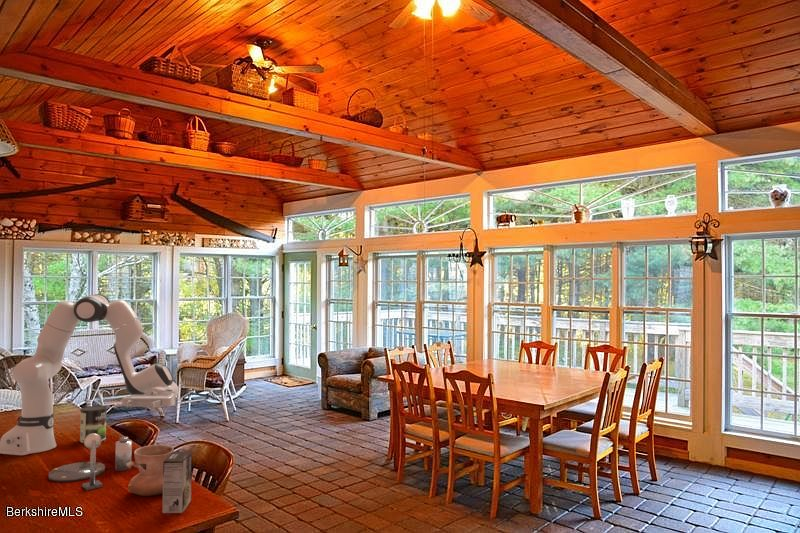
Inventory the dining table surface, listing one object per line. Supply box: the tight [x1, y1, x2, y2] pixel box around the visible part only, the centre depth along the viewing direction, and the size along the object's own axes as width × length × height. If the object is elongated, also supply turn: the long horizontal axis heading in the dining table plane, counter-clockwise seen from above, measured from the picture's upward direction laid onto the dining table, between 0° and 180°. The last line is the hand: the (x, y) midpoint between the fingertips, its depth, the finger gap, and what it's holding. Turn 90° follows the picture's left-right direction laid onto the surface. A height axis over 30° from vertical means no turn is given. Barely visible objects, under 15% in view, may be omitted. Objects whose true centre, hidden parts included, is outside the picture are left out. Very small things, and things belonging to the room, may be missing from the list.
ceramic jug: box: [126, 444, 175, 497], centre depth 190 cm, size 18×14×14 cm
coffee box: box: [161, 451, 192, 514], centre depth 177 cm, size 9×6×16 cm
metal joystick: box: [81, 433, 103, 491], centre depth 193 cm, size 5×5×18 cm
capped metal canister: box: [114, 436, 133, 472], centre depth 212 cm, size 6×6×12 cm
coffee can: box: [79, 405, 108, 444], centre depth 248 cm, size 10×10×14 cm
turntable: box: [48, 461, 106, 483], centre depth 206 cm, size 18×18×1 cm
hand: (139, 405), depth 224 cm, fingers open, 8 cm apart
